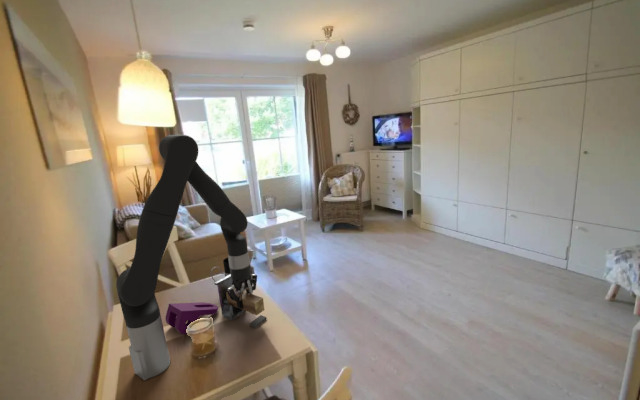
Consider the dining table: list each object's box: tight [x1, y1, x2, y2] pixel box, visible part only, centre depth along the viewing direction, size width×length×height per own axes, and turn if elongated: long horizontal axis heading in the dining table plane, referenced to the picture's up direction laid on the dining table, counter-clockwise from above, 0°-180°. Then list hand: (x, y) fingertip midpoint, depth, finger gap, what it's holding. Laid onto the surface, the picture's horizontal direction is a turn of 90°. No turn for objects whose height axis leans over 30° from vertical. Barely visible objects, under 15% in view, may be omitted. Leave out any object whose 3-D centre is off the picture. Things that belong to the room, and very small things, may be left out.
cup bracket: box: [214, 274, 244, 321], centre depth 123 cm, size 9×6×15 cm
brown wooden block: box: [226, 288, 265, 316], centre depth 118 cm, size 4×16×5 cm, turn 56°
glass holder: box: [210, 256, 246, 291], centre depth 140 cm, size 9×14×15 cm, turn 124°
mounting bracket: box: [165, 301, 219, 335], centre depth 120 cm, size 9×8×18 cm
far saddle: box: [249, 314, 268, 329], centre depth 117 cm, size 6×3×1 cm, turn 146°
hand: (245, 304), depth 119 cm, fingers closed on brown wooden block, 4 cm apart
